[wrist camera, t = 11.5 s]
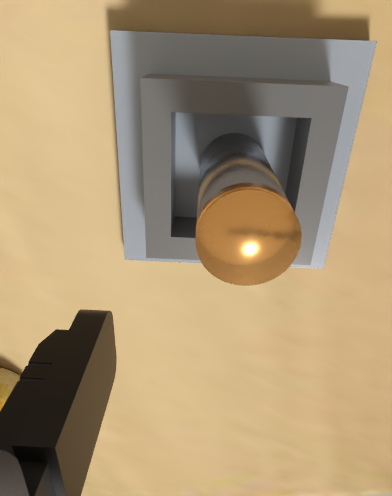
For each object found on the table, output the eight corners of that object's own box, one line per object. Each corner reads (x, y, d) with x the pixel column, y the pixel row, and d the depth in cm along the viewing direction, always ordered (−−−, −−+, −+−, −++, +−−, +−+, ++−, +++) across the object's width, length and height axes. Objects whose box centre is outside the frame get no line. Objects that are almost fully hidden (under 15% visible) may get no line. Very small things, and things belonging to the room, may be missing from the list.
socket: (369, 41, 20) (403, 40, 17) (319, 261, 27) (336, 293, 24) (114, 30, 21) (94, 27, 17) (127, 252, 27) (115, 283, 24)
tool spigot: (269, 134, 22) (310, 193, 13) (261, 198, 24) (292, 287, 15) (201, 131, 22) (197, 189, 13) (199, 195, 24) (193, 283, 15)
